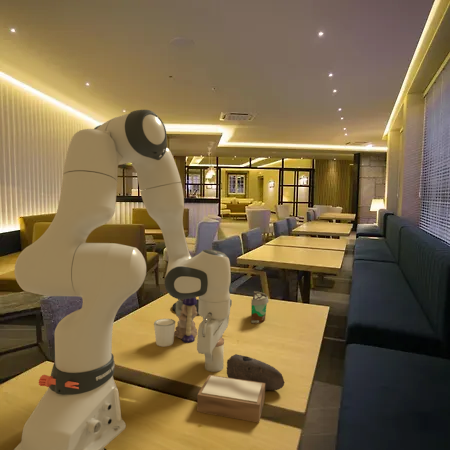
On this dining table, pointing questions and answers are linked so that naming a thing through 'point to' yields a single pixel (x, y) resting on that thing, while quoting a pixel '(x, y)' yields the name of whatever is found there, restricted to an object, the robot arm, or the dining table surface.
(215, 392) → the walnut plinth
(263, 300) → the food container
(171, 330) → the shot glass
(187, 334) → the toy lamp
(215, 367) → the cream canister
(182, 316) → the figurine
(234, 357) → the brown oblong lump
